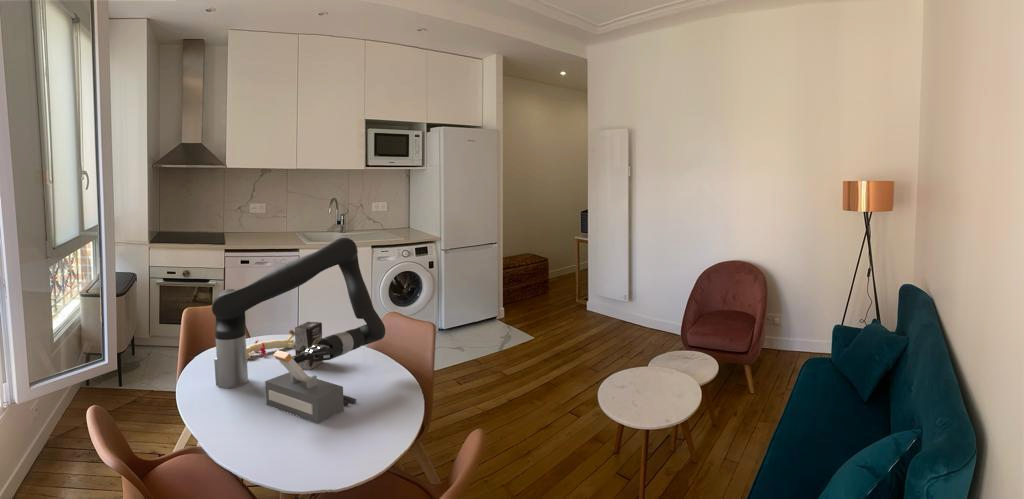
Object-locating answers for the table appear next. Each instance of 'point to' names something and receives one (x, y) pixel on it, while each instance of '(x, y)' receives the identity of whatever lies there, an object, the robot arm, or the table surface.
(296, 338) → the coffee box
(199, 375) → the table surface
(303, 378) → the breaker lever
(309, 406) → the block
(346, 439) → the table surface
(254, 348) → the cat figure
